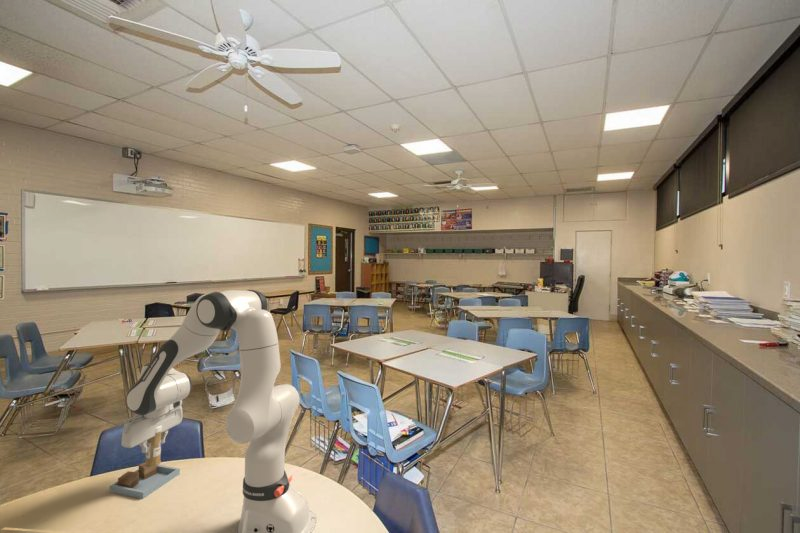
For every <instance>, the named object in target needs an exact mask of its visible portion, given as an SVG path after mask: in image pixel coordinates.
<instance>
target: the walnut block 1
mask: <svg viewBox="0 0 800 533" xmlns="http://www.w3.org/2000/svg"><path fill="white" fill-rule="evenodd" d="M117 481H118V486H123V487H128V488H133V487H135V486H136V485H137V484H139V472H135V471H129V470H128V471H126V472H125V473H123V474H122V475H121V476H119V477H118V478H117Z"/></svg>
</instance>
